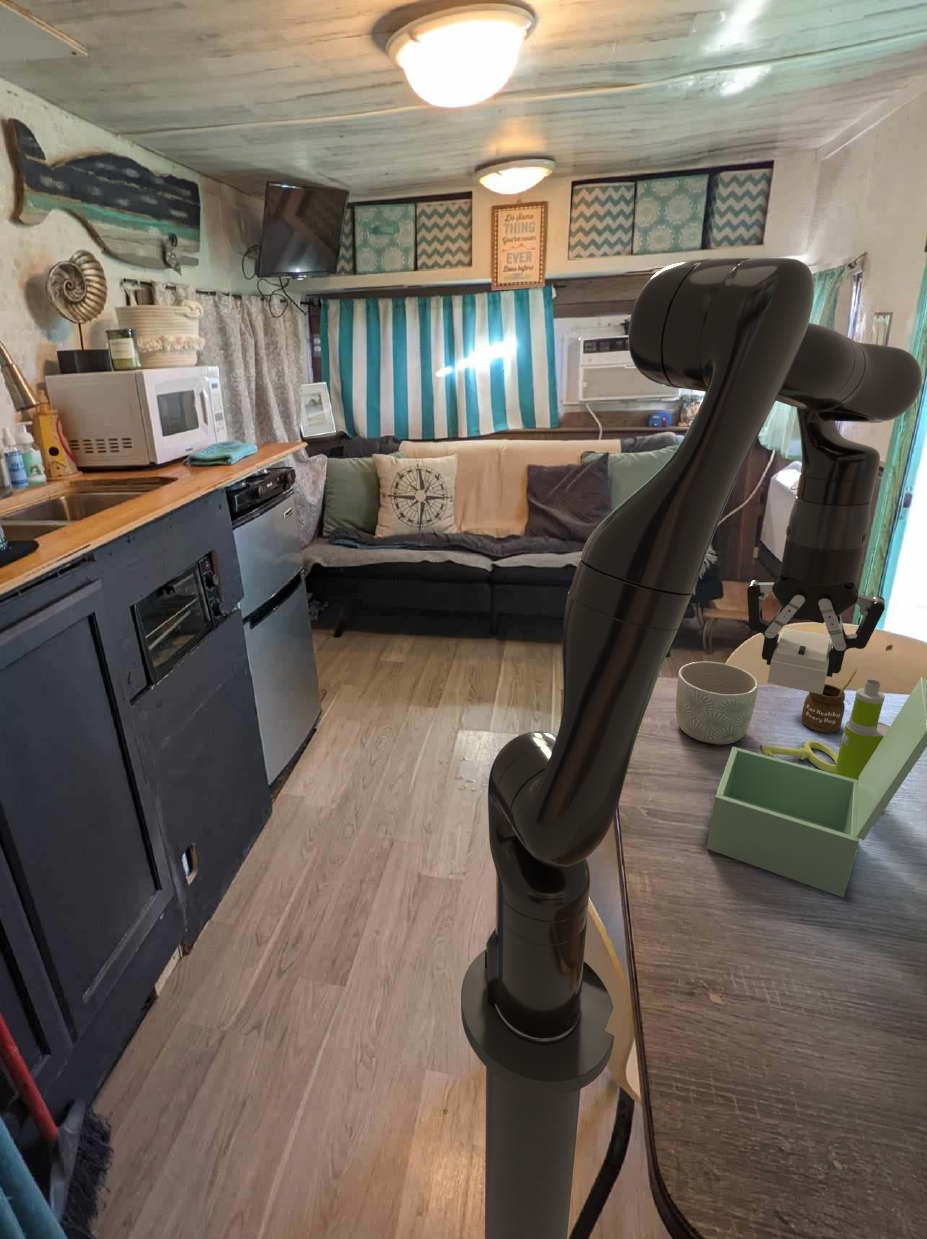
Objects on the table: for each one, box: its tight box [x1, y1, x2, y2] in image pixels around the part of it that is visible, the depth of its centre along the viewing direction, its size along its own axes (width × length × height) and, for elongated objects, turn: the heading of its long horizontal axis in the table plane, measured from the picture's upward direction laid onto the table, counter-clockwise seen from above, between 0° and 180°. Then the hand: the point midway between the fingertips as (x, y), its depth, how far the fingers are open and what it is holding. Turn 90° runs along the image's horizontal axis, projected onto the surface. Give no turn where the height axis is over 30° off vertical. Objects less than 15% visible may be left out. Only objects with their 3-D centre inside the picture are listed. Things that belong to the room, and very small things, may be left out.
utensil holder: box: [800, 667, 858, 734], centre depth 112 cm, size 6×6×12 cm
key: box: [758, 740, 838, 773], centre depth 104 cm, size 7×12×2 cm, turn 99°
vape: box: [833, 679, 891, 780], centre depth 92 cm, size 4×6×20 cm, turn 79°
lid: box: [856, 677, 927, 841], centre depth 76 cm, size 16×14×5 cm
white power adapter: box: [767, 627, 832, 694], centre depth 79 cm, size 10×6×4 cm, turn 144°
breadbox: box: [706, 746, 860, 898], centre depth 87 cm, size 16×14×9 cm
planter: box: [675, 660, 760, 745], centre depth 112 cm, size 12×12×11 cm
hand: (798, 667), depth 79 cm, fingers closed on white power adapter, 5 cm apart
